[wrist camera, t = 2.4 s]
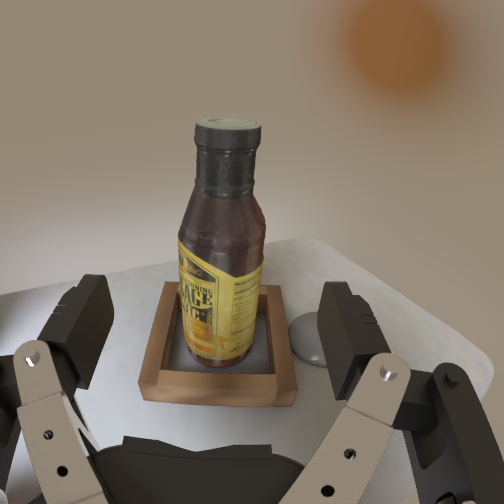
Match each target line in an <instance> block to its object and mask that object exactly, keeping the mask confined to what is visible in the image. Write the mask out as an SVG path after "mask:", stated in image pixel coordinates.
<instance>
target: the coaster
mask: <svg viewBox="0 0 504 504" xmlns="http://www.w3.org/2000/svg"><path fill="white" fill-rule="evenodd" d="M317 314H318V312H313V313H307V314H304V315H301V316H300V317H298V318H296V319H295V320H294V321H293V322H292V324H291V326H290V328H289V332H288V335H289V341H290V347H291V349H292V351H293V352H294V353H295V354H296V355H297V356H298V357H299V358H300V359H302V360H303V361H305V362H307V363H309V364H312V365H315V366H320V367H327V364H326V360H325V356H324V352H323V348H322V344H321V341H320V337H319V333H318V329H317Z"/></svg>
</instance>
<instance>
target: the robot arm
mask: <svg viewBox="0 0 504 504" xmlns="http://www.w3.org/2000/svg"><path fill="white" fill-rule="evenodd" d="M113 321H114V307H113V303H112V299H111V295H110V291H109V287H108V283H107V279H106V277H105V276H104V275H91V274H86V275H84V276H83V278H82V279H81V281H80V283H79V284H78V286H77V287H72V288H71V289H70V290H68V291H67V292H66V293H65V294H64V295H63V296H62V298H61V299H60V301H59V303H58V306H56V307H55V309H54V311H53V314H51V316H50V317H49V319H48V321H47V322H46V324H45V326H44V328H43V329H42V331H41V333H40V335H39V336H38V338H37V340H31V341H28V342H26V343H24V344H22V345H21V346H20V347H19V348H18V349H17V350H16V352H15V354H14V355H6V356H0V504H8V500H7V497H6V495H5V489H6V484H7V480H8V476H9V471H10V467H11V464H12V460H13V456H14V452H15V449H16V445H17V442H18V439H19V435H20V432H21V429H22V433H23V436H24V440H25V443H26V447H27V450H28V453H29V456H30V459H31V462H32V465H33V468H34V471H35V474H36V477H37V479H38V482H39V485H40V487H41V490H42V493H41V494H40V495H38V496H37V497H35V498H34V499H33V500H31V501H30V502H29V503H27V504H357V503H358V501H359V500H360V498H361V496H362V494H363V492H364V491H365V489H366V487H367V485H368V483H369V481H370V479H371V477H372V475H373V473H374V471H375V469H376V467H377V465H378V463H379V461H380V459H381V457H382V455H383V453H384V450H385V448H386V446H387V444H388V442H389V439H390V437H391V435H392V432H393V429H397V430H402V431H403V435H404V439H405V442H406V446H407V450H408V454H409V458H410V462H411V466H412V470H413V475H414V479H415V483H416V488H417V492H418V497H419V502H420V504H504V461H503V458H502V455H501V453H500V450H499V447H498V445H497V442H496V439H495V437H494V434H493V432H492V429H491V427H490V424H489V422H488V420H487V417H486V415H485V412H484V410H483V408H482V406H481V403H480V401H479V399H478V396H477V394H476V392H475V390H474V388H473V386H472V384H471V381H470V379H469V377H468V375H467V374H466V372H465V371H464V370H463V369H462V368H461V367H459V366H458V365H456V364H453V363H442V364H439V365H438V366H437V367H436V368H435V370H434V371H433V373H430V372H423V371H417V370H412V369H410V368H409V366H408V364H407V363H406V362H405V361H404V360H403V359H402V358H401V357H399V356H397V355H394V354H392V353H391V351H390V349H389V347H388V344H387V342H386V340H385V338H384V336H383V333H382V331H381V329H380V327H379V325H378V324H377V320H376V318H375V316H373V312H372V310H371V308H370V306H369V304H368V303H367V302H366V301H365V300H364V299H363V298H362V297H361V296H360V295H352V293H351V290H350V288H349V286H348V284H347V282H325V284H324V287H323V292H322V296H321V301H320V305H319V310H318V314H317V329H318V333H319V337H320V341H321V344H322V348H323V352H324V356H325V360H326V364H327V367H328V371H329V375H330V379H331V383H332V387H333V391H334V395H335V399H336V400H347V404H346V405H345V406H344V408H343V409H342V411H341V413H340V414H339V416H338V418H337V419H336V421H335V423H334V424H333V426H332V427H331V429H330V431H329V432H328V434H327V435H326V437H325V439H324V440H323V442H322V443H321V445H320V446H319V448H318V449H317V451H316V452H315V454H314V455H313V457H312V458H311V460H310V461H309V463H308V464H307V466H306V467H305V466H304V465H302V464H300V463H299V462H297V461H295V460H292V459H290V458H288V457H285V456H281V455H278V454H272V449H271V444H270V445H231V446H226V447H221V448H216V449H210V450H205V451H198V452H194V451H190V450H186V449H183V448H180V447H177V446H174V445H171V444H168V443H165V442H162V441H159V440H152V439H144V438H137V437H130V436H124V438H123V443H122V445H116V446H111V447H108V448H105V449H102V450H101V449H100V447H99V446H98V444H97V442H96V441H95V439H94V437H93V435H92V433H91V431H90V429H89V427H88V424H87V422H86V420H85V418H84V415H83V413H82V411H81V409H80V406H79V404H78V401H77V399H76V397H75V395H74V394H75V391H76V389H77V388H80V389H86V390H88V388H89V385H90V382H91V379H92V376H93V374H94V371H95V368H96V365H97V363H98V360H99V357H100V355H101V352H102V349H103V347H104V344H105V342H106V339H107V337H108V334H109V332H110V329H111V327H112V324H113Z"/></svg>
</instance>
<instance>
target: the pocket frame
mask: <svg viewBox="0 0 504 504" xmlns="http://www.w3.org/2000/svg"><path fill="white" fill-rule="evenodd" d="M179 310H182V304H181V289H180V282H165V284H164V287H163V291H162V294H161V297H160V301H159V304H158V308H157V311H156V315H155V318H154V322H153V326H152V329H151V333H150V337H149V340H148V344H147V348H146V352H145V356H144V360H143V364H142V368H141V372H140V376H139V380H138V385H139V388H140V391H141V393H142V396H143V399H144V400H148V401H157V402H167V403H178V404H192V405H210V406H244V407H265V406H292V405H293V401H294V398H295V395H296V392H297V384H296V378H295V371H294V365H293V359H292V353H291V347H290V341H289V335H288V329H287V323H286V317H285V311H284V305H283V299H282V293H281V288H280V286H273V285H260V289H259V296H258V304H257V312H256V313H265V321H266V331H267V341H268V352H269V362H270V372H271V374H222V373H199V372H183V371H170V370H167V368H168V363H169V357H170V352H171V347H172V341H173V336H174V331H175V326H176V321H177V316H178V312H179Z"/></svg>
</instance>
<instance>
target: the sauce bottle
mask: <svg viewBox="0 0 504 504" xmlns="http://www.w3.org/2000/svg"><path fill="white" fill-rule="evenodd" d="M194 141H195V144H196V146H197V161H196V163H197V166H196V169H197V171H196V178H195V187H194V189H193V192H192V195H191V198H190V200H189V203H188V206H187V209H186V212H185V215H184V218H183V220H182V224H181V226H180V229H179V233H178V252H179V276H180V289H181V304H182V316H183V328H184V337H185V340H186V343H187V348H188V350H189V353H190V354H191V355H192V356H193V357H194V358H195V359H197V360H198V361H199V362H201V363H203V364H204V365H206V366H210V367H227V366H231V365H234V364H236V363H238V362H239V361H241V360H242V359H243V358H244V357H245V356H246V355H247V353H248V352H249V350H250V348H251V343H252V340H253V334H254V327H255V320H256V312H257V304H258V296H259V289H260V282H261V274H262V267H263V259H264V256H263V246H264V239H265V230H266V224H265V218H264V215H263V213H262V210H261V208H260V207H259V205H258V203H257V201H256V199H255V197H254V195H253V187H254V183H255V180H254V169H255V157H256V150H257V148H258V146H259V145H260V141H261V125H260V124H259V123H257V122H255V121H252V120H247V119H242V118H231V117H228V118H227V117H214V118H205V119H201V120H199V121H198V122H197V123H196V128H195V136H194Z"/></svg>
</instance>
